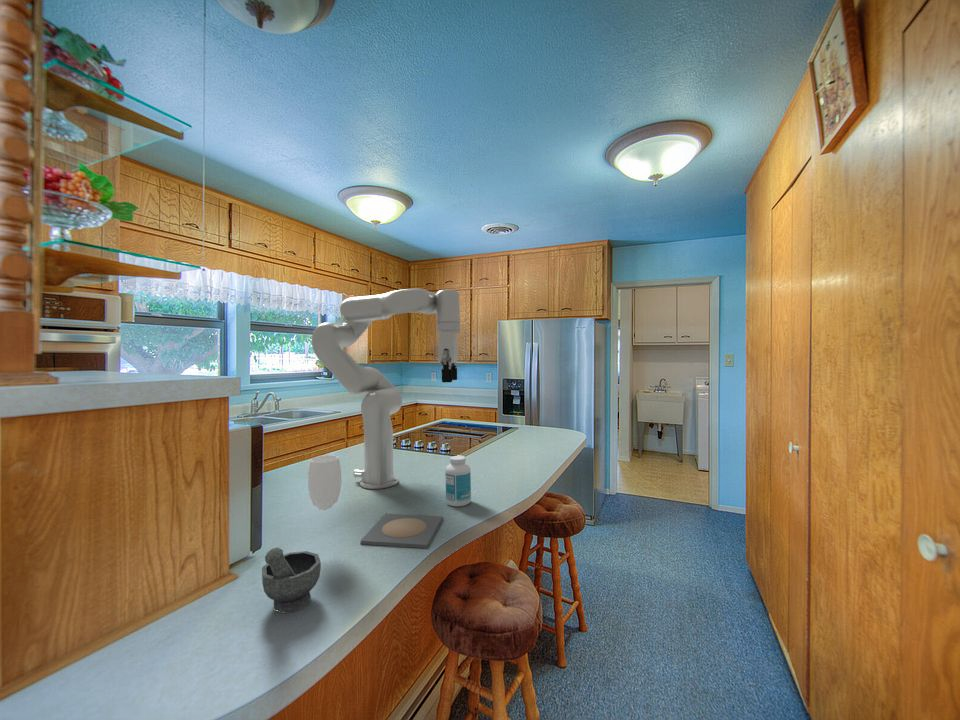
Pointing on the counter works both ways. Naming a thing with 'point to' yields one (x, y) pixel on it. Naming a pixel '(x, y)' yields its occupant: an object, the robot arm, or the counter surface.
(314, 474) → the cup
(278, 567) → the mortar and pestle
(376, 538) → the rest mat
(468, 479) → the pill bottle
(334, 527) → the counter surface
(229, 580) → the counter surface
